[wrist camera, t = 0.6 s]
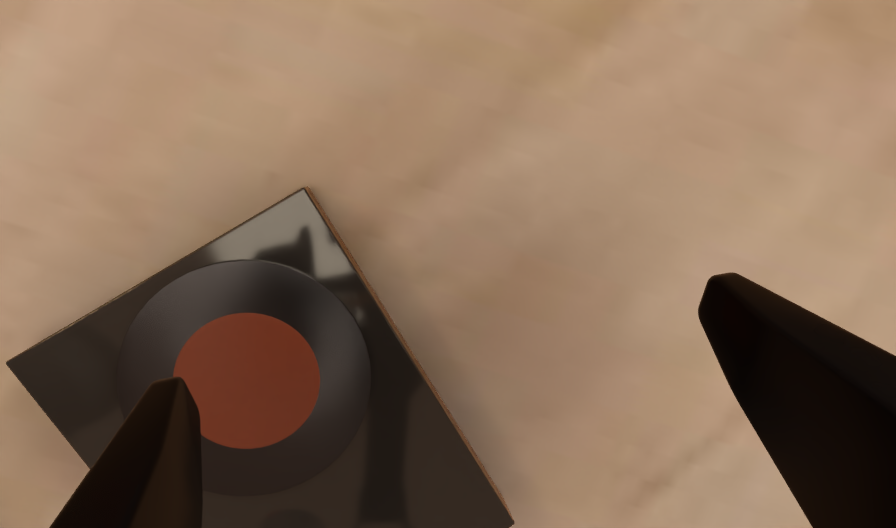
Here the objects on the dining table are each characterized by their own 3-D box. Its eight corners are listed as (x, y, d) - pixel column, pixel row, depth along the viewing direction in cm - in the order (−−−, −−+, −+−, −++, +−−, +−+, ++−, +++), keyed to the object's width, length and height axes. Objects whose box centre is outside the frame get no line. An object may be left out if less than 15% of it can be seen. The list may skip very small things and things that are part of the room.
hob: (519, 522, 27) (532, 551, 25) (258, 688, 26) (250, 732, 24) (308, 185, 24) (303, 186, 22) (0, 366, 23) (-36, 385, 21)
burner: (415, 411, 24) (415, 414, 23) (212, 537, 23) (210, 540, 23) (287, 212, 22) (286, 213, 22) (64, 344, 21) (61, 346, 21)
